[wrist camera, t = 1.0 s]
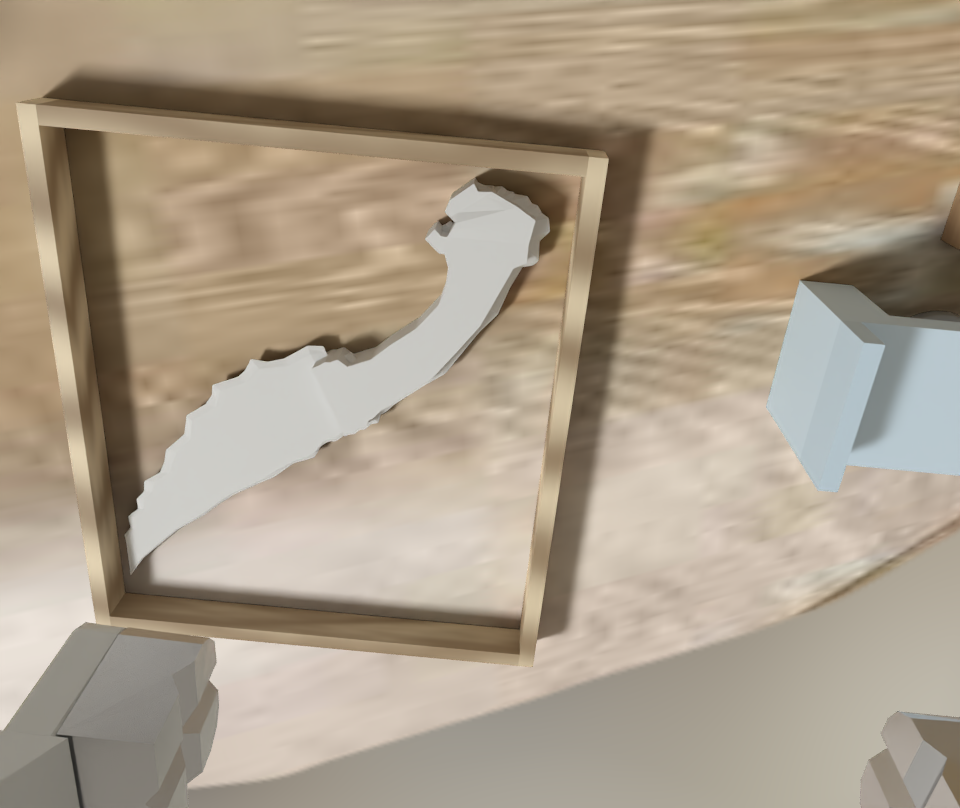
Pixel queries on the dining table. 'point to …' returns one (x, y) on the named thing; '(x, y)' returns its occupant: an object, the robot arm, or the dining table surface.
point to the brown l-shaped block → (953, 224)
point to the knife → (340, 374)
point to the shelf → (866, 387)
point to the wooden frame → (82, 400)
